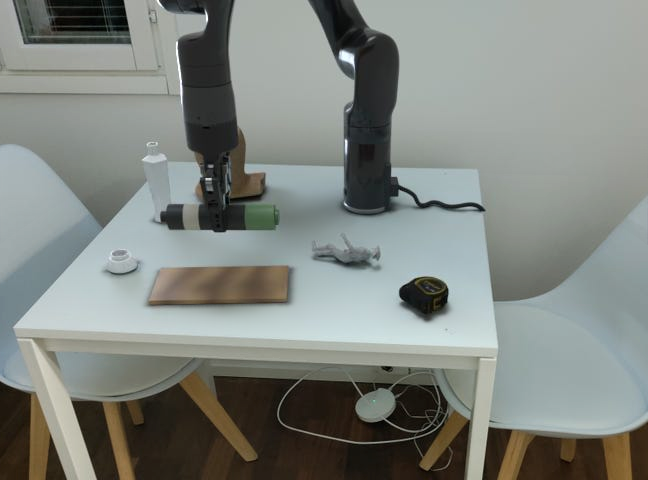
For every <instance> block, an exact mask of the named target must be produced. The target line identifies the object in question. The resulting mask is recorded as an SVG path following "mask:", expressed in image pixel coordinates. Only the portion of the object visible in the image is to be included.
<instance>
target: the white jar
mask: <svg viewBox="0 0 648 480" xmlns="http://www.w3.org/2000/svg"><path fill="white" fill-rule="evenodd" d="M109 255H110V256H109V258H108V261H107V264H106V269H107V271H109V272H110V273H114V274H127V273H129V272H131V271H133V270H135V269H136V268H137V267H138V261H137V259H136V258H135V257H134V256H133V255H132V253H130V251H129V249H125V248H117V249H114V250H113V251H111V252H110V254H109Z"/></svg>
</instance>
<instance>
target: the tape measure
mask: <svg viewBox="0 0 648 480" xmlns="http://www.w3.org/2000/svg"><path fill="white" fill-rule="evenodd" d="M449 293H450V290H449V287H448V285H447V283H446V282H445V281H444V280H443V279H440V278H437V277H435V276H429V275H427V276H425V275H424V276H419V277H415V278H413V279H412V280H410V281H409V282H407V283H405V284H403V285H401V286H400V287H399V289H398V296H399V299H401V300H402V301H403V302H404V303H406V304H408V305H409V306H411V307H413V308H414V309H416V310H417V311H418V312H420V313H421V314H422V315H424V316H429V315H431V314H433V312H437V311H441V310H442V309H443V308H444V307H445V306H446V305H447V304H448V303H449V301H448V300H449V295H450V294H449Z"/></svg>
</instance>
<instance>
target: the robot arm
mask: <svg viewBox="0 0 648 480" xmlns="http://www.w3.org/2000/svg"><path fill="white" fill-rule="evenodd" d="M156 1H157V3H158V4H159V6H160V7H161V8H162V9H163V10H165V11H166V12H168V13H171V14H175V15H189V16H190V15H194V16H195V15H196V16H206V23H205V26H204V29H203V30H200V31H196V32H190V33H187V34H183V35H181V36H180V37H179V38H178V39H177V40H176V44H175V48H176V49H175V52H176V59H177V66H178V75H179V82H180V103H181V111H182V118H183V126H184V133H185V140H186V141H185V142H186V146H187V148H188V150H190V151H191V152H192V153H194V152H195V153H199V154H201V155H202V156H203V162H200V167H199V172H200V175H201V177H199V181H198V182H200V185H201V190H202V194H203V199H204V200H203V199H202V200H203V204H205V209H206V211H210V215H211V223H212V230H211V231H212V232H213V233H219V234H220V233H227V231H228V230H227V221H226V211H225V208H226V204H231V198H230V199H229V196H230V193H231V190H230V187H231V185H232V182H231V169H230V164H231V162H230V151H232V150H234V149H235V148H236V147H237V146H238V144H239V137H238V127H239V125H238V115H237V105H236V104H237V103H236V96H235V91H234V87H233V81H232V72H231V71H232V70H231V69H232V68H231V61H230V60H231V59H230V39H231V31H232V22H233V16H234V11H235V5H236V0H156ZM307 2H308V4H309V5H310V7H311V9H312V10H313V12H314V14H315V15H316V17H317V19H318V21H319V23H320V25H321V28H322V30H323V32H324V36H325V38H326V39H327V43H328V45H329V48H330V50H331V53H332V56H333V57H334V60H335V62H336V65H337V66H338V68H339V70H340V71H341V72H342V74H344V76H346V77H347V78H349V79H350V80H352V81H354V83H353V99H352V100H350V101H349V102H347V103H345V105H344V106H343V187H342V188H343V190H342V191H343V192H342V193H343V207H344V209H346V210H347V211H349V212H352V213H355V214H360V215H375V214H378V213H383V212H386V211H391V198H399V196H400V191H401V192H403V193H405V194H408V195H409V196H411V198H412V199H413V201H414V203H415V205H416V206H417V207H418V208H423V209H424V208H427V207H429V206H433V205H434V206H439V207H442V208H444V209H447V210H448V209H449V210H456V209H457V210H458V209H463V208H474V209H475V208H476V209H477V210H479V211H480V212H486V208H485V207H484V206H483V205H482V204H479V203H477V202H473V201H469V202H461V203H454V204H449V203H446V202H443V201H441V200H435V199H432V200H431V199H430V200H429V201H426V202H421V201H420V199H419V198H418V195H417V194H416V193H415V192H414V191H413V190H411V189H409V188H407V187H405V186H403V185H400V183H399V179H398V176H392V162H391V156H392V155H391V154H392V153H391V151H392V123H393V113H394V110H395V108H396V105H397V101H398V90H399V79H400V78H399V77H400V51H399V48H398V45H397V42H396V41H395V39H393V38H392V36H390V35H388V34H387V33H385V32H382V31H378V30H376V29H373V28H372V27H370V26H369V24H368V23H367V22H366V20H365V18H364V17H363V16H362V13H361V11H360V10H359V8H358V6H357V4H356V2H355V0H307Z"/></svg>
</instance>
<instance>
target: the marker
mask: <svg viewBox="0 0 648 480" xmlns="http://www.w3.org/2000/svg"><path fill="white" fill-rule="evenodd" d="M225 211H226V221H227V231H271V232H272V231H273V232H274V231H276V228H277V226H280V221H281V219H280V217H281V215H280V210H279V209H277V206H276V204H273V203H268V204H267V203H266V204H265V203H258V204H257V203H230V204H226V208H225ZM160 220H161V222H160V223H162V224H166V225H167V228H168V230H169V231H213V230H212V223H211V215H210V211H206V209H205V204H204V203H171V204H168V205H167V208H166V211H161V212H160Z"/></svg>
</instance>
